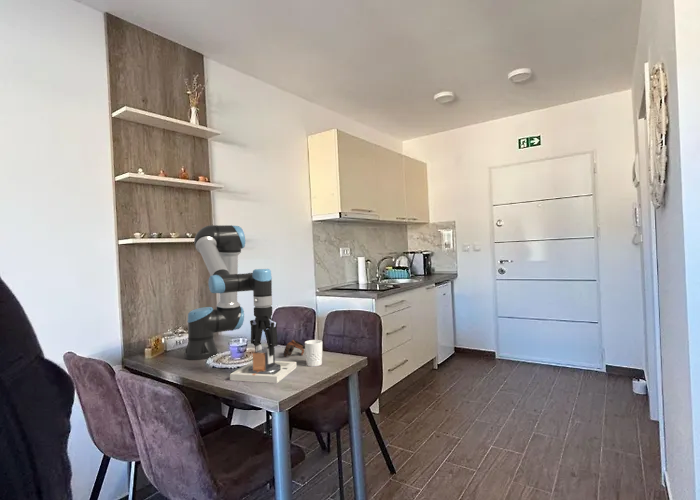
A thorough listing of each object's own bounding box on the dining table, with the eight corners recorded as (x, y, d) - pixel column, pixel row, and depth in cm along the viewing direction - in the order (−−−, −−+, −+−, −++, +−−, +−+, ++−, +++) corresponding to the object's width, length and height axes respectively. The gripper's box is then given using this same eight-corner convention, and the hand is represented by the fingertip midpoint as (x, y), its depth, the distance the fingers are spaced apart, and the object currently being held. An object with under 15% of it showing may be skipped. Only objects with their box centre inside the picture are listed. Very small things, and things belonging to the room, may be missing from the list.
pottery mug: (286, 353, 197) (294, 338, 198) (301, 363, 194) (309, 347, 195) (276, 353, 185) (284, 337, 186) (292, 363, 182) (301, 347, 183)
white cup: (319, 361, 179) (318, 339, 179) (325, 365, 172) (325, 342, 172) (302, 363, 176) (302, 341, 176) (308, 368, 169) (308, 344, 169)
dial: (258, 365, 170) (257, 346, 170) (285, 367, 167) (285, 347, 167) (242, 375, 158) (241, 353, 158) (271, 376, 154) (271, 355, 154)
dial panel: (230, 380, 155) (229, 373, 155) (254, 365, 174) (254, 359, 174) (277, 383, 150) (276, 376, 150) (296, 367, 170) (296, 361, 170)
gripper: (240, 306, 164) (242, 361, 164) (272, 308, 154) (274, 367, 154) (254, 303, 171) (255, 357, 171) (286, 306, 160) (287, 363, 160)
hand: (264, 362), depth 162 cm, fingers closed on dial, 6 cm apart
